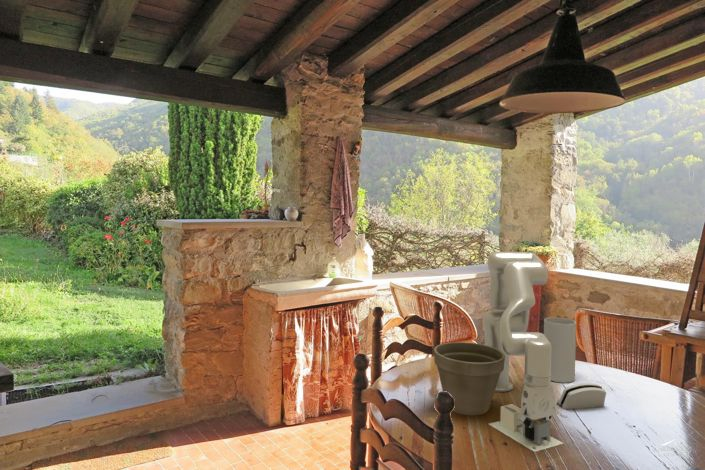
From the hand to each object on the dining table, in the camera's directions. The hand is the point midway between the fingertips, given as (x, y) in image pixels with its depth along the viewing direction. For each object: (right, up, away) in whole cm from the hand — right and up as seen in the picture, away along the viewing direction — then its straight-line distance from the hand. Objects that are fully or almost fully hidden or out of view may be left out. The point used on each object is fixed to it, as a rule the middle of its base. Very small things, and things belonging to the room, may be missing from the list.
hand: (536, 436), depth 145 cm
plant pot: (-15, -1, +25) cm, 29 cm away
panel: (-2, -2, +5) cm, 5 cm away
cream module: (-4, -1, +9) cm, 10 cm away
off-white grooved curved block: (+28, -1, +28) cm, 39 cm away
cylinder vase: (+32, 0, +57) cm, 65 cm away
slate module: (0, -1, 0) cm, 1 cm away
